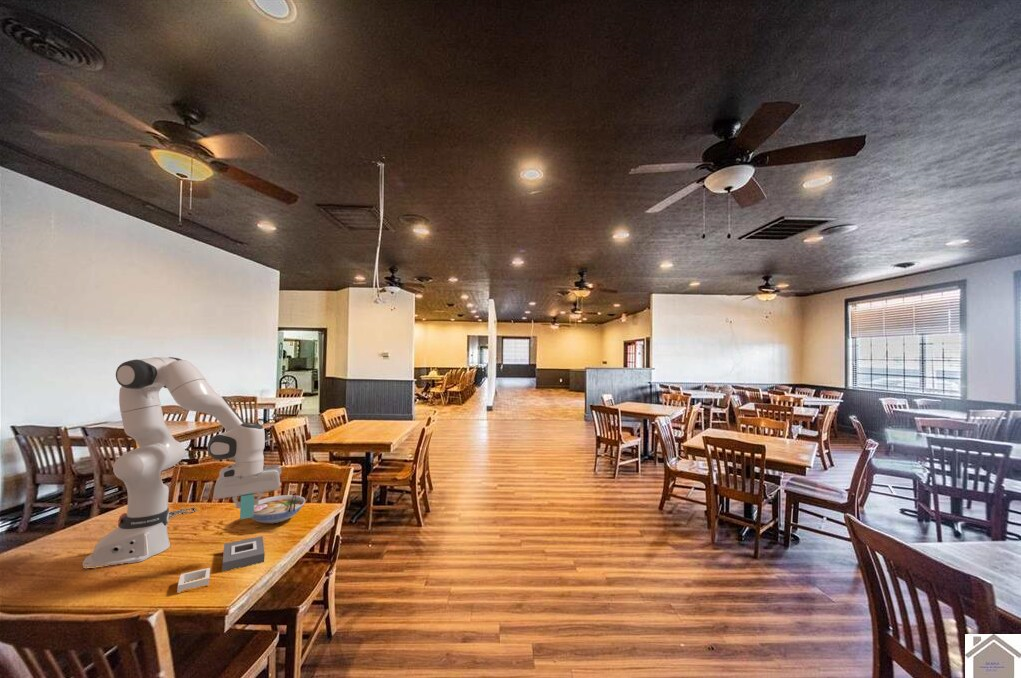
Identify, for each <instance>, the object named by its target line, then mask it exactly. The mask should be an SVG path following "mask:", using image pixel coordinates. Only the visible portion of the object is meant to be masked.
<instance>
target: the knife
mask: <svg viewBox="0 0 1021 678" xmlns="http://www.w3.org/2000/svg"><path fill="white" fill-rule="evenodd" d="M190 509H195V510H190ZM182 510H183V511H182ZM185 510H189V511H185ZM196 510H197V511H198V508H197V507H189V508H181V509H178V510H175V511H171V512H170V511H169V519H171V518H170V517H172V516H174V515H176V514H179V513H190V514H192V513H194V511H195V512H196ZM184 511H185V512H184ZM191 512H192V513H191ZM179 515H180V514H179ZM174 517H175V516H174ZM172 518H173V517H172Z"/></svg>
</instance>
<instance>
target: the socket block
mask: <svg viewBox="0 0 1021 678" xmlns="http://www.w3.org/2000/svg"><path fill="white" fill-rule="evenodd" d="M263 537H264V536H263V535H261V536H256V537H255V536H254V537H251V538H246V539H240V540H236V541H232V542H231V541H230V542H227V543H224V544H223V556H222V567H221V569H222V570H221V572H222V571H224V572H226V571H225V570H228V571H231V569H233V570H235V569H234V568H237V569H240V568H239V567H241V568H245V567H249V566H253V565H252V564H254V565H256V563H258V564H262V563H265V554H266V553H265V552H266V551H265V546H264V538H263ZM261 562H262V563H261ZM248 565H249V566H248ZM244 566H245V567H244Z"/></svg>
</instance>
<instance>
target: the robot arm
mask: <svg viewBox="0 0 1021 678" xmlns="http://www.w3.org/2000/svg"><path fill="white" fill-rule="evenodd" d="M115 378H116V379H115V380H116V381H117V383H118V384H119V386H120V388H119V391H118V392H119V393H118V403H119V411H120V416H121V422H122V426H123V430H124V433H125V435H126V436H128V437H130V438H132V439H133V440H134V441H135V442H136V443H137V445H138V447H137V448H135V449H134V448H133V449H131V450H129V451H127V452H126V453H124V454H122V455H121V456H119V457H118V458H116V460H115V461H114V463H113V467H112V470H113V471H112V472H113V474H114V476H115V477H116V478H117V479H118V480H120V481H122V482H123V483H124V485H125V488H126V491H127V507H126V508H127V510H126V512H123V513H121V515H120V516H119V518H118V522H117V527H116V528H115V529H113V530H112V531H110V532H109V533H108V534H107V535H105V536H104V537H102V538H101V539H100V540H99V541H98V542H97V544H96V545H95V547H94V549H93V551H92V553H90V554H89V555H88V556H86V557H85V559H84V560H83V561H82V564H81V566H82V565H83V567H86V568H87V567H96V566H105V565H115V564H121V565H124V564H123V563H128V564H133V563H134V564H135V563H140V562H143V561H146V560H147V559H148V558H150V557H153V556H155V555H159V554H160V553H162V552H164V551H166V550H167V549H168V548H170V546H171V543H170V539H169V538H170V537H169V534H168V523H169V519H170V518H169V513H170V511H169V510H170V508H169V494H170V493H169V492H170V488H169V486H168V485H166V484H165V483H163V480H162V475H161V474H162V472H163V471H166V470H168V469H170V468H172V467H174V466H176V465H177V464H178V463H179V462H181V461H182V460H183V458H184V457H185V455H186V448H185V446H184V444H183V443H181V442H180V441H178V440H176V439H175V438H174V436H173V435H172V434H171V432H170V430H169V429H168V427H167V424H166V421H165V417H164V413H163V408H162V404H161V400H160V396H159V393H160V391H161V389H162V388H164V389H167V391H168V392H169V394H170V395H171V397H172V399H173V400H174V401H175V403H176V404H177V405H178V406H179V407H181V408H182V409H184V410H186V411H191V412H197V413H203V414H206V415H210V416H212V417H214V419H216V420H217V421H218V423H219V424H220V425H221V426H222V427H223V428H224V429H225V431H223V432H221V433H218V434H216V435H214V436H212V437H211V438H210V439H209V441H208V443H207V453H208V455H209V456H210V457H211V458H212V459H214V460H217V461H218V460H219V461H221V460H223V461H224V460H227V459H230V458H231V459H232V458H234V461H235V462H234V463H232V464H230V465H227V466H225V467H222V468H220V470H219V475H218V478H217V479H216V482H215V485H214V489H213V499H216V500H218V499H225V498H231V497H232V498H231V499H232V501H233V502H234V503H235V509H240V507H241V500H240V501H238V496H240V497H241V495H246V494H253V493H254V494H257V497H256V498H254V505H258V503H259V500H261V499H262V497H263V495H264V494H263V493H265V492H272V491H277V490H279V489H280V487H281V479H280V476H281V474H282V470H283V469H282V466H281V465H278V464H271V465H270V464H269V465H265V463H264V461H265V457H264V449H265V445H266V444H265V443H266V433H265V428H264V426H263V425H262V424H260V423H256V422H245V420H244V419H242V417H240V415H239V414H238V412H236V411H235V409H234V408H233V407H232V406H231V405H230V403H228V401H227V400H226V399H225V398H223V397H222V396H221V395H220V394H218V392H217V391H215V389H214V388H213V387H212V386H211V385H210V383H209V381H208V380H207V379H206V377H205V376H204V375H203V373H201V371H200V370H199V369H198V368H197V367H196V366H195V365H194V364H193V363H192V362H191V361H188V360H186V359H181V358H179V357H170V356H169V357H150V358H141V359H132V360H131V359H130V360H127V361H124V362H122V363H121V364H120V365H118V367H117V368H116V370H115ZM85 564H87V565H85ZM115 566H116V565H115Z"/></svg>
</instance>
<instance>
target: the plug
mask: <svg viewBox="0 0 1021 678" xmlns="http://www.w3.org/2000/svg"><path fill="white" fill-rule="evenodd" d="M254 499H255V493H253V494H246V495H240V501H241V507H240V508H239V510H240V511H239V520H244V519H248V518H249V519H250V518H251V517H253V516H254Z"/></svg>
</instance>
